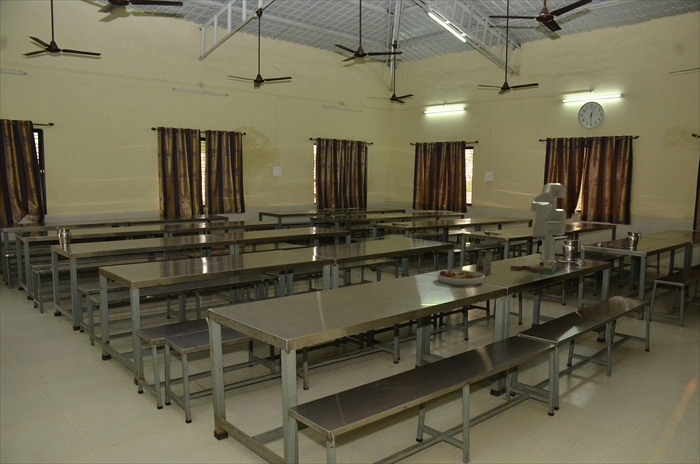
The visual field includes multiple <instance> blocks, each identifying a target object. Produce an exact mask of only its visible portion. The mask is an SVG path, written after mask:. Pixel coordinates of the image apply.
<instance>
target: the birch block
mask: <svg viewBox="0 0 700 464" xmlns="http://www.w3.org/2000/svg"><path fill="white" fill-rule="evenodd" d="M554 261H555V260H554ZM554 261H551V260H545V261H544V263H543V266H544V268H554V266H555V263H554Z"/></svg>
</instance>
